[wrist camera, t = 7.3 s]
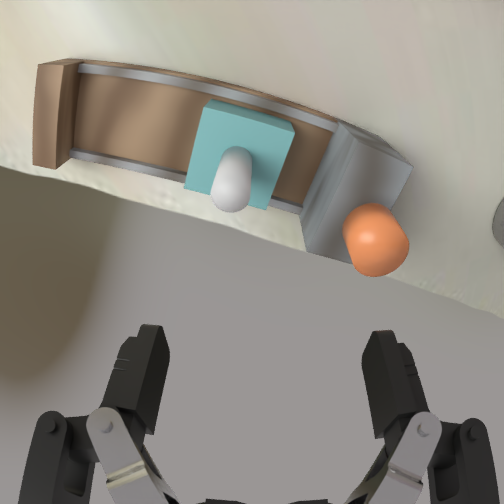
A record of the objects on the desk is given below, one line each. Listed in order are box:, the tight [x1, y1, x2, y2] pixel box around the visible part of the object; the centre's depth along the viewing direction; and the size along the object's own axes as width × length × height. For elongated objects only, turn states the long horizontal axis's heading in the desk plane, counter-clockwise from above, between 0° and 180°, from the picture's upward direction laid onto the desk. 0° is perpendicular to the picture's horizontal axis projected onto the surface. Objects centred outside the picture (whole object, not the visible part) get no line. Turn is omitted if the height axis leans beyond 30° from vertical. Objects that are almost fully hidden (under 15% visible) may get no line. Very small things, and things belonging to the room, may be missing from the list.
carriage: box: [184, 99, 295, 212], centre depth 23 cm, size 7×7×10 cm
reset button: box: [342, 203, 409, 277], centre depth 20 cm, size 4×4×3 cm
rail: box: [33, 59, 413, 264], centre depth 24 cm, size 32×10×8 cm, turn 73°
